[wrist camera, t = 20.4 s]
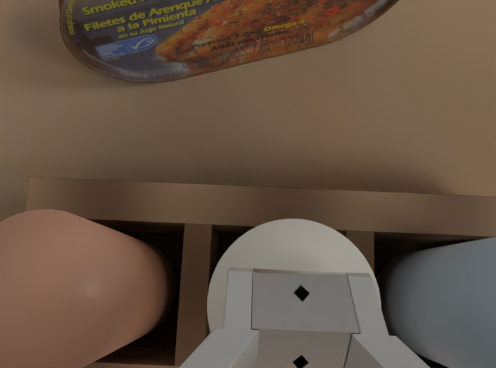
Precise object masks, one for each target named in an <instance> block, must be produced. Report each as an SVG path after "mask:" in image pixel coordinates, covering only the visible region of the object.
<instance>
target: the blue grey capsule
mask: <svg viewBox="0 0 496 368" xmlns="http://www.w3.org/2000/svg"><path fill="white" fill-rule="evenodd" d="M376 281H377V285H378V288H379V293H380V299H381V310H382V314H383V317H384V320H385V324H386V327H387V331H388V334H389V336H397V337H398V338H399V339H400V340H401V341H402V342H403V343H404V344H405V345H406V346H408V347H409V348H410V349H411V350H412V351H413V352H414V353H416V354H418V355H420V356H423V357H425V358H427V359H430V360H432V361H434V362H437V363H439V364H441V365H444V366H446V367H448V368H496V237H493V238H487V239H481V240H476V241H470V242H465V243H459V244H454V245H448V246H442V247H437V248H431V249H426V250H420V251H415V252H409V253H405V254H402V255H400V256H397V257H395V258H394V259H392V260H391V261H390V262H388V263H387V264H386V265H385V266H384V267H383V268H382V270H381V271H380V273H379V274H378V276H377V278H376Z"/></svg>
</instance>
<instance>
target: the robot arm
mask: <svg viewBox="0 0 496 368" xmlns="http://www.w3.org/2000/svg"><path fill="white" fill-rule="evenodd" d="M179 368H430V367H429V366H428V365H427V364H426V363H425V362H424V361H422V360H421V359H420V358H419V357H418V356H417V355H416V354H415V353H414V352H413V351H412V350H411V349H410V348H409V347H408V346H406V345H405V344H404V343H403V342H402V341H401V340H400V339H399V338H398V337H397V336H389V334H388V331H387V327H386V324H385V320H384V317H383V314H382V310H381V307H380V303H379V300H378V296H377V293H376V290H375V286H374V283H373V279H372V276H371V275H370V274H369V273H348V272H345V273H342V272H313V271H287V270H272V269H257V268H253V274H252V269H248V268H235V267H229V269H228V272H227V283H226V294H225V305H224V316H223V326H222V328H215V329H214V330H213V331H212V332H211V333H210V334H209V335H208V336H207V338H206V339H205V340H204V341H203V342H202V343H201V344H200V345H199V346H198V347H197V349H196V350H195V351H194V352H193V353H192V354H191V355H190V356H189V357H188V358H187V359H186V361H185V362H184V363H183V364H182V365H181V366H180V367H179Z"/></svg>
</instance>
